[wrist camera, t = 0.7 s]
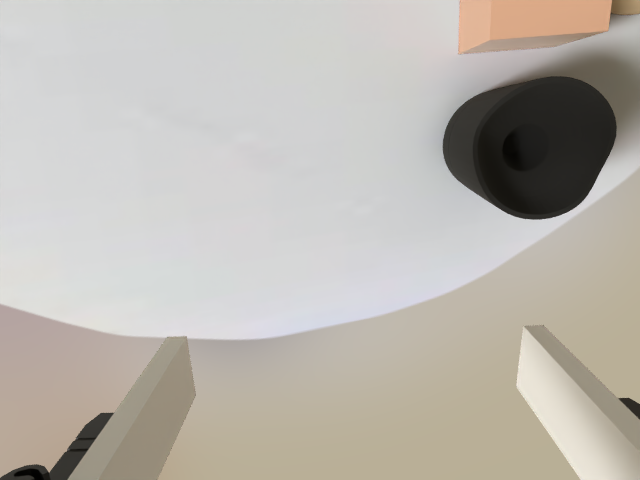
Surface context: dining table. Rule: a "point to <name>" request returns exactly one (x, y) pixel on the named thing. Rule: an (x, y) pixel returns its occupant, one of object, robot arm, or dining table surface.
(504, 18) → the tan block with knob
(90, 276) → the dining table surface
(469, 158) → the pen holder
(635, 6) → the cork trivet
